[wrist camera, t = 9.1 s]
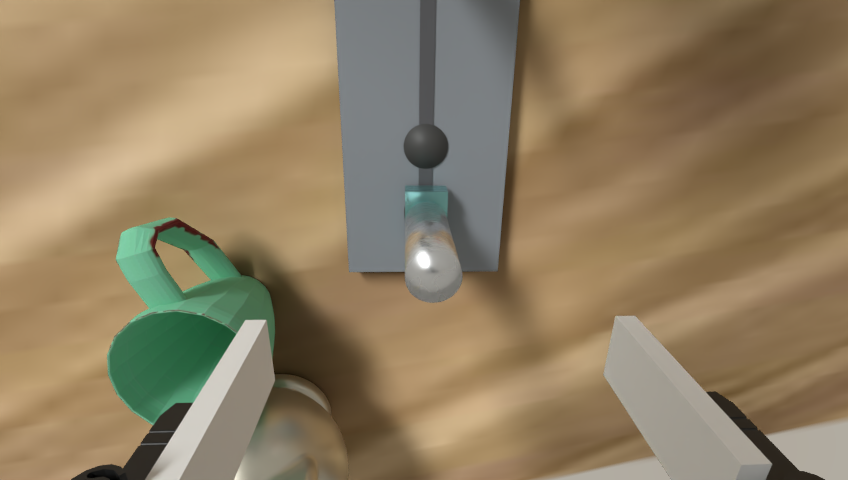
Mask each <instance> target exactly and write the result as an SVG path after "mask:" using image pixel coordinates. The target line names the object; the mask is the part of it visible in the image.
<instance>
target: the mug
mask: <svg viewBox="0 0 848 480" xmlns="http://www.w3.org/2000/svg"><path fill="white" fill-rule="evenodd" d="M157 239H158V240H161V241H163V242H166V243H168V244H171V245H173V246H176V247H178V248H180V249H183V250H184V251H185V252H186V253H187V254H188V255H189V256H190V257H191V258H192V259H193V261H194V262H195V263H196V264H197V265H198V266H199V267H200V268H201V269H202V271H203V272H204V273H205V274H206V275H207V276H208V277H209V278H210V279H211V281H208V282H205V283H202V284H199V285H197V286H194V287H192V288H190V289H187V290H185V291H183V292H182V290H181V289H180V288H179V286H178V285H177V283H176V282H175V281H174V279H173V278H172V277H171V275H170V274H169V272H168V271H167V270H166V268H165V266H164V264H163V262H162V260H161V259H160V257H159V255H158V253H157V251H156V249H155V245H156V241H157ZM116 261H117V263H118V265H119V266H120V268H121V270H122V272H123V273H124V275H125V277H126V279H127V280H128V282H129V283H130V284H131V286H132V287H133V288H134V289H135V291H136V292H137V293H138V295H139V296H140V297H141V298H142V300H143V301H144V302H145V303H146V305H147V306H148V307H149V308H150V309H147V310H145V311H143V312H141V313H140V314H138V315H137V316H135V317H134V318H133V319H132V320H131V321H130V322H129V323H128V324H127V325H126V326H125V327H124V328H123V329H122V330H121V331H120V332H119V333H118V334H117V335H115V336H114V339H113V342H112V344H111V347H110V349H109V352H108V354H107V363H108V376H109V378H110V380H111V383H112V385H113V387H114V389H115V392H116V394H117V395H118V396H119V397H120V399H121V400H122V401H123V402H124V403H125V404H126V405H127V406H128V408H129V409H130V410H131V411H132V412H134V413H135V414H137V415H138V416H140V417H141V418H143V419H144V420H146V421H147V422H149V423H150V424H152V425H154V423H155V422H156V421H157V419H158V418H159V416H160V415H162V414H163V413H164V412H165V411H166V410H168V409H169V408H170V407H171V406H173V405H174V404H175V403H194V401H195V399H196V398H197V396H198V395H199V393H200V392H201V390H202V388H203V387H204V385H205V384H206V382H207V380H208V379H209V377H210V376H211V374H212V372H213V371H214V369H215V368H216V366H217V364H218V363H219V361H220V360H221V358H222V356H223V355H224V353H225V352H226V350H227V349H228V347H229V345H230V344H231V342H232V341H233V339H234V337H235V336H236V334H237V333H238V331H239V329H240V328H241V326H242V325H243V323H244V321H245V320H267V326H268V333H269V340H270V347H271V354H272V358H273V349H274V339H275V318H274V311H273V306H272V301H271V297H270V293H269V292H268V290H267V289H266V287H265V286H264V285H263V284H262V283H260V282H259V281H258V280H256V279H254V278H252V277H250V276H244V275H241V274H240V273H239V272H238V270H237V269H236V268H235V267H234V265H233V264H232V263H231V262H230V260H229V259H228V258H227V257H226V255H225V254H224V253H223V252H222V250H221V249H220V248H219V247H218V245H217V244H216V243H215V242H214V240H212V239H211V238H209V237H207V236H206V235H204V234H202V233H201V232H199V231H197V230H196V229H194V228H192V227H191V226H189V225H187V224H186V223H184V222H182V221H180V220H179V219H177V218H165V219H162V220H158V221H154V222H151V223H147V224H144V225H140V226H136V227H133V228H130V229H128V230H126V231H124V232H122V234H121V236H120V240H119V245H118V250H117V256H116Z"/></svg>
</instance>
